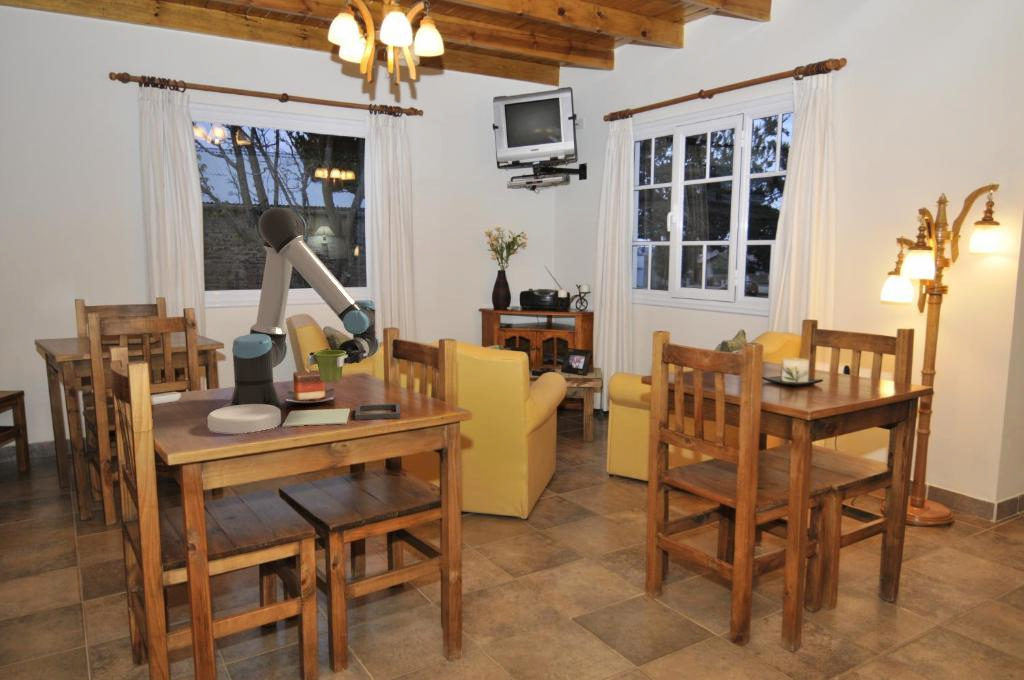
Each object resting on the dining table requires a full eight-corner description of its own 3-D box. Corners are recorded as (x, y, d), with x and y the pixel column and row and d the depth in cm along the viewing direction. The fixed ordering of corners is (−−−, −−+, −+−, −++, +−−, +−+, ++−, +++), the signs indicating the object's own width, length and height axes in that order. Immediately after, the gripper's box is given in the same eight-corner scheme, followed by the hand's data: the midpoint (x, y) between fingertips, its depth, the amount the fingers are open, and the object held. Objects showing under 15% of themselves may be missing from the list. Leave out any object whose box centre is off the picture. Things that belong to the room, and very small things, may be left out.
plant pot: (336, 384, 210) (335, 355, 209) (308, 382, 213) (307, 353, 212) (352, 379, 219) (351, 351, 218) (325, 377, 222) (324, 349, 221)
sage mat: (282, 427, 206) (282, 425, 206) (290, 412, 224) (290, 410, 224) (346, 424, 209) (346, 422, 209) (349, 410, 227) (349, 408, 227)
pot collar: (355, 420, 214) (354, 415, 214) (357, 409, 227) (356, 405, 227) (400, 418, 217) (400, 413, 216) (399, 408, 230) (399, 403, 229)
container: (293, 426, 208) (292, 411, 208) (224, 439, 194) (223, 423, 194) (263, 415, 223) (262, 400, 222) (197, 426, 209) (196, 410, 208)
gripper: (384, 363, 231) (358, 375, 209) (322, 360, 235) (290, 373, 213) (384, 340, 230) (357, 350, 208) (322, 338, 234) (289, 348, 212)
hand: (323, 361), depth 211 cm, fingers closed on plant pot, 9 cm apart
